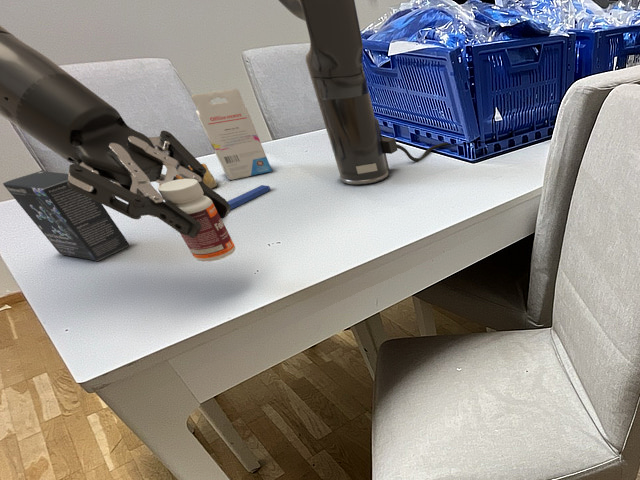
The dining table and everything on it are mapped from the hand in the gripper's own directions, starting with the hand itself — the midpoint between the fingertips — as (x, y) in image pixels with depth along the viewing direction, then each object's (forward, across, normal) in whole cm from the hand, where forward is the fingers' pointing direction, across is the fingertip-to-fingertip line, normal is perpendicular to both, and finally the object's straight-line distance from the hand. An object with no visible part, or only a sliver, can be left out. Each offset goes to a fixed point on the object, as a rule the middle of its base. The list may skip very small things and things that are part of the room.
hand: (212, 221), depth 53 cm
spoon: (-8, +25, +21) cm, 34 cm away
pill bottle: (+2, 0, +4) cm, 5 cm away
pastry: (-17, +35, +31) cm, 50 cm away
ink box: (-13, +44, +27) cm, 53 cm away
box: (-15, +8, +28) cm, 33 cm away
